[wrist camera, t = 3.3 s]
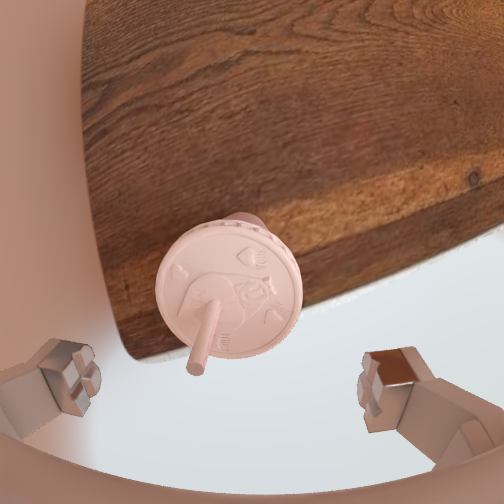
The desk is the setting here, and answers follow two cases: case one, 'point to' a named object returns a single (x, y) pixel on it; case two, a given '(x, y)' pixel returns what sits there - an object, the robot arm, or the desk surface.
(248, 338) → the smoothie
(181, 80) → the desk surface
